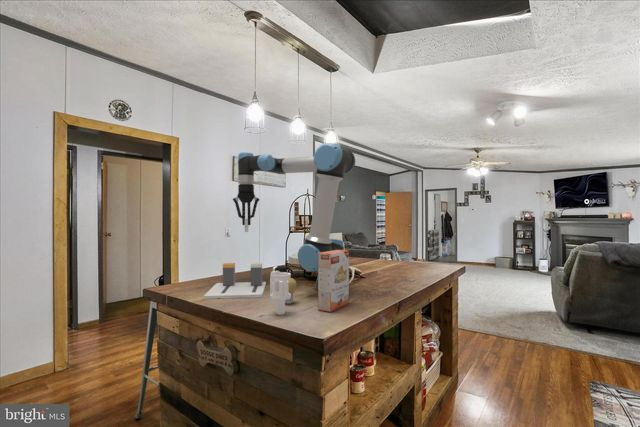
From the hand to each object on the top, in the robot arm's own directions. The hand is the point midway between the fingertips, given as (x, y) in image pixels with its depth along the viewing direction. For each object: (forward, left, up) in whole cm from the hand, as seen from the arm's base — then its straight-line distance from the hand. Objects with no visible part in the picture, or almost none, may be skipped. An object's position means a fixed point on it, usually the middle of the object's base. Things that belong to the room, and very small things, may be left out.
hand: (246, 231), depth 164 cm
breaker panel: (-10, +9, -26) cm, 29 cm away
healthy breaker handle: (-9, -1, -25) cm, 26 cm away
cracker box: (-57, -10, -26) cm, 63 cm away
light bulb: (-42, +1, -26) cm, 50 cm away
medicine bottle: (-26, -4, -26) cm, 37 cm away
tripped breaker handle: (-1, +10, -25) cm, 27 cm away
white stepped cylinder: (-52, +10, -26) cm, 59 cm away
